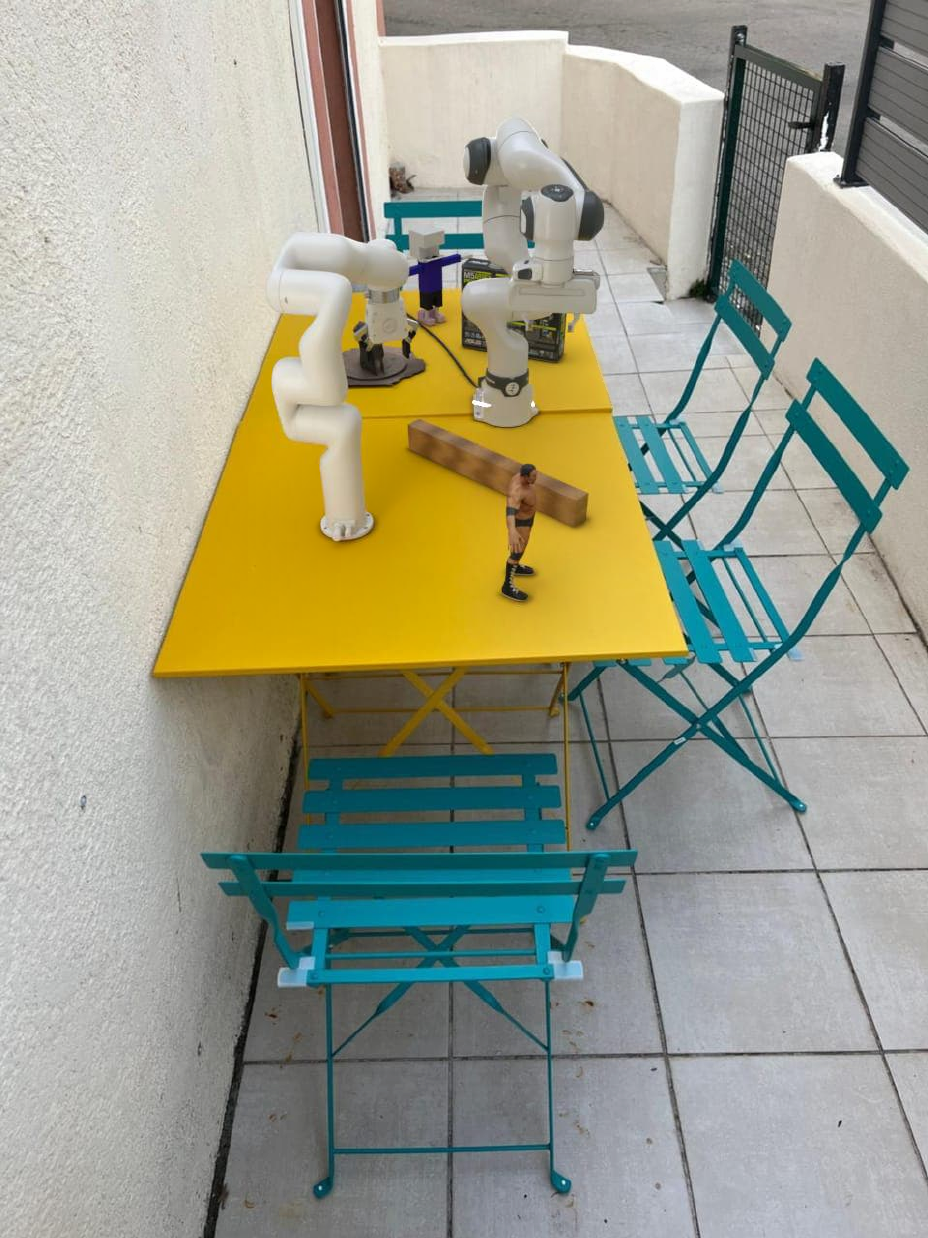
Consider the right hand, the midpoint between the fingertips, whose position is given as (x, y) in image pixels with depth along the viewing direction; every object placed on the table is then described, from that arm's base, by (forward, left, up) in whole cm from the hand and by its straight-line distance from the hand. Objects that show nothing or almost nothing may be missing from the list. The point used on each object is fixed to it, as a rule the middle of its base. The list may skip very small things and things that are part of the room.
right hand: (549, 330), depth 201 cm
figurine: (+41, -16, -40) cm, 59 cm away
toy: (-110, -9, -40) cm, 117 cm away
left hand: (-28, -34, -16) cm, 47 cm away
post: (-2, -12, -40) cm, 41 cm away
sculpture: (-76, -35, -40) cm, 93 cm away
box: (-79, +12, -40) cm, 89 cm away
